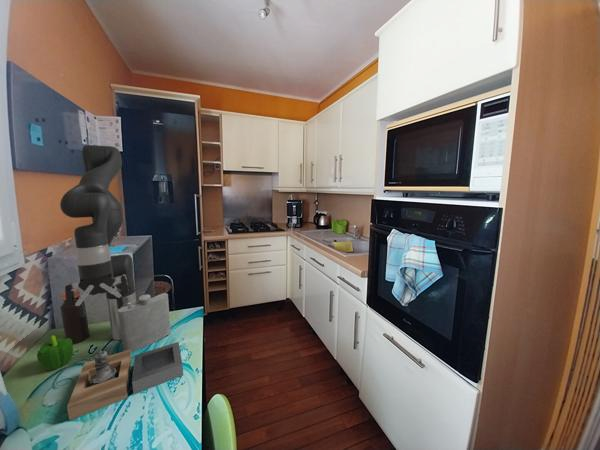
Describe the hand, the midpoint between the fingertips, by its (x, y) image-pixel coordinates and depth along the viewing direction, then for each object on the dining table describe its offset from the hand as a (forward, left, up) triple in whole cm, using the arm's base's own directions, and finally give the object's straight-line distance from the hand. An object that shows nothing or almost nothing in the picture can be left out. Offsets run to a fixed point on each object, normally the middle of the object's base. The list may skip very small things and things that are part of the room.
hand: (101, 312), depth 71 cm
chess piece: (+4, -1, -22) cm, 22 cm away
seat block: (+6, +13, -22) cm, 26 cm away
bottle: (-31, -14, -22) cm, 41 cm away
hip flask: (-13, +10, -22) cm, 27 cm away
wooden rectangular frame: (+4, -1, -22) cm, 22 cm away
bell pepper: (-16, -16, -22) cm, 32 cm away
